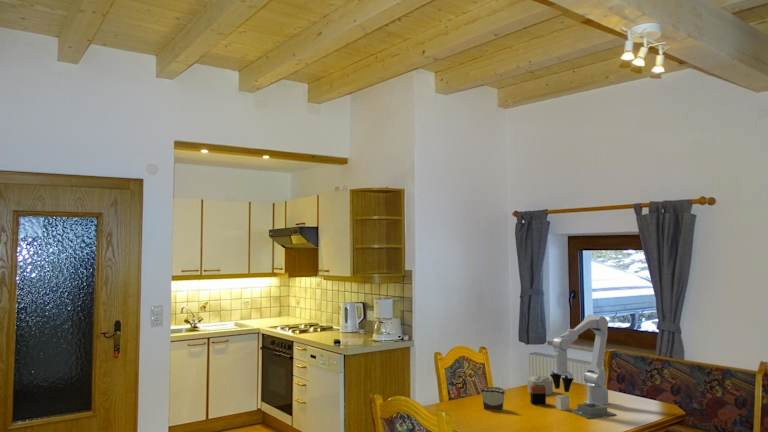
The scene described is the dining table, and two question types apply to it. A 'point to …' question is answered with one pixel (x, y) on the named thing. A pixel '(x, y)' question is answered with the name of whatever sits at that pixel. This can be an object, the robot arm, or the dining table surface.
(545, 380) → the lumpy-topped squat cylinder
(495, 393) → the food container
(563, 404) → the plug
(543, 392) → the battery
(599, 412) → the socket dock
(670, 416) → the dining table surface
